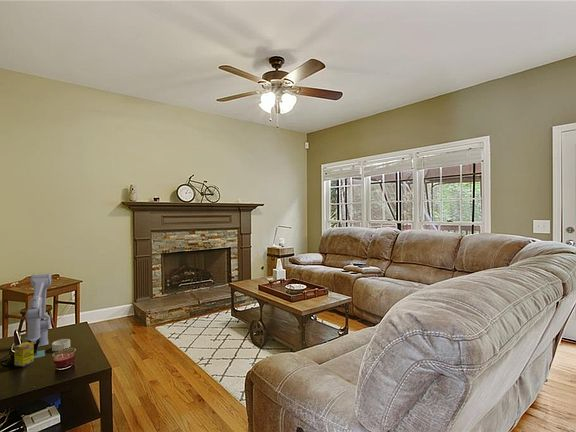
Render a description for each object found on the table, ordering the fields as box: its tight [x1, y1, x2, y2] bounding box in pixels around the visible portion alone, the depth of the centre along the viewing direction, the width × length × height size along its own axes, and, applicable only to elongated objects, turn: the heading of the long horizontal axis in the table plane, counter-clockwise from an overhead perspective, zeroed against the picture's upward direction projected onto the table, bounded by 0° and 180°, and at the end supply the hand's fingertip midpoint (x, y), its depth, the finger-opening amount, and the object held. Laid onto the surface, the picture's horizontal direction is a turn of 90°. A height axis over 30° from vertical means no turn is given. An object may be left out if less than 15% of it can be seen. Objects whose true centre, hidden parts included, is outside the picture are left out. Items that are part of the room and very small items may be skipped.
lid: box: [34, 349, 46, 359], centre depth 185 cm, size 10×10×5 cm
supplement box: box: [13, 341, 35, 368], centre depth 174 cm, size 6×6×11 cm
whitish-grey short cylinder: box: [51, 338, 71, 352], centre depth 194 cm, size 9×9×4 cm
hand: (33, 352), depth 185 cm, fingers open, 3 cm apart
